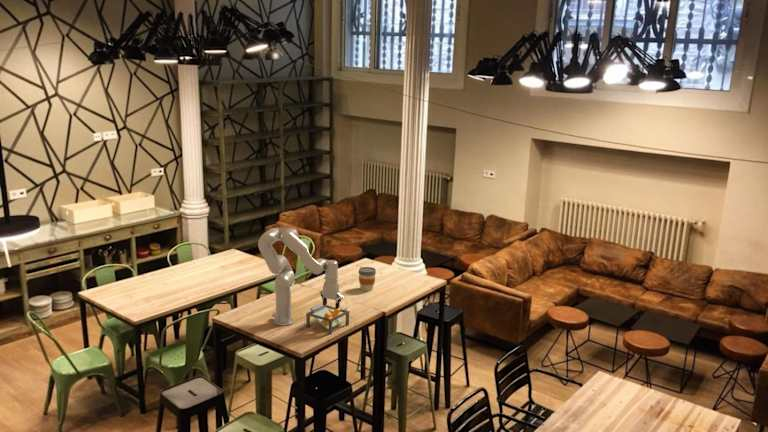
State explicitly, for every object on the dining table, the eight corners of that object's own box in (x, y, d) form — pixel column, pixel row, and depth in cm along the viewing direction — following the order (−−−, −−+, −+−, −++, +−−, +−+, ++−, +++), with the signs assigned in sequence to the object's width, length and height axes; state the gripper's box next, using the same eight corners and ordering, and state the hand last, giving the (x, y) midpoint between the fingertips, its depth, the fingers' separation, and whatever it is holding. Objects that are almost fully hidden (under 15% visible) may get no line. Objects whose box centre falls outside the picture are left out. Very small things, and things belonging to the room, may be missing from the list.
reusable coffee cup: (378, 290, 495) (379, 270, 491) (364, 293, 488) (364, 273, 484) (369, 285, 505) (369, 265, 501) (354, 288, 498) (355, 268, 494)
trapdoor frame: (306, 327, 424) (306, 313, 422) (325, 317, 439) (325, 304, 437) (330, 334, 414) (330, 320, 412) (349, 324, 429) (349, 311, 427)
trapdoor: (307, 311, 424) (309, 308, 422) (322, 305, 436) (324, 301, 435) (328, 329, 417) (329, 326, 416) (342, 322, 429) (344, 319, 428)
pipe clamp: (327, 324, 419) (330, 317, 416) (322, 320, 421) (325, 312, 418) (338, 319, 429) (342, 311, 426) (333, 314, 430) (337, 307, 428)
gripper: (316, 279, 420) (316, 305, 424) (339, 284, 411) (338, 311, 415) (324, 276, 426) (323, 302, 430) (346, 281, 417) (346, 308, 421)
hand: (331, 306), depth 422 cm, fingers open, 9 cm apart
